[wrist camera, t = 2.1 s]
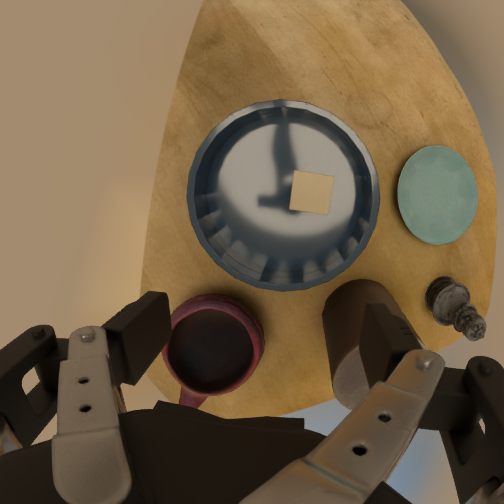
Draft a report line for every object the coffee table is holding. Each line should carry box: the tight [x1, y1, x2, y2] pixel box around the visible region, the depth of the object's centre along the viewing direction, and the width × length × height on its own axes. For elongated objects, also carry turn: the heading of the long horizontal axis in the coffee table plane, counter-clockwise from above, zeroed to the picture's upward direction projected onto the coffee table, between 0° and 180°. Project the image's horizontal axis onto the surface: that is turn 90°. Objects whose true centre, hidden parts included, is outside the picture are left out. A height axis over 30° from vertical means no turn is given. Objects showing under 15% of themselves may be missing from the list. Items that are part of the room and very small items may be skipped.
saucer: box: [397, 145, 478, 245], centre depth 30 cm, size 12×12×2 cm
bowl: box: [161, 294, 265, 409], centre depth 36 cm, size 16×13×8 cm
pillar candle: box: [322, 279, 427, 410], centre depth 29 cm, size 10×10×15 cm
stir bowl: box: [187, 99, 380, 292], centre depth 31 cm, size 20×20×6 cm
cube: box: [289, 170, 334, 215], centre depth 31 cm, size 4×4×4 cm
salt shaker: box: [425, 276, 486, 341], centre depth 28 cm, size 6×6×12 cm
